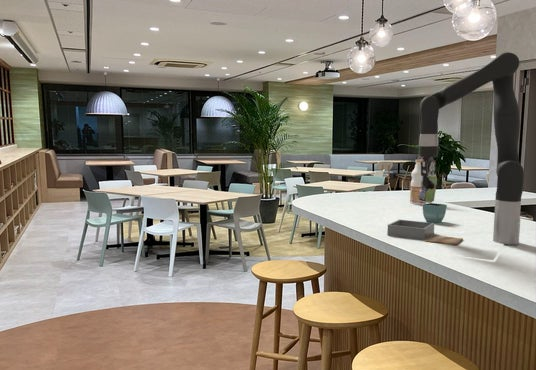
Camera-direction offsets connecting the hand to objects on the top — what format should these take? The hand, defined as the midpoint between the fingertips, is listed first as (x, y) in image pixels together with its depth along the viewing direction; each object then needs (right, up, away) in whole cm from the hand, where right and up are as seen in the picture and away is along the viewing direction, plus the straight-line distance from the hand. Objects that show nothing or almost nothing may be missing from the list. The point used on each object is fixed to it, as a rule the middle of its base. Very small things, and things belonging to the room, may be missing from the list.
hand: (428, 185), depth 199 cm
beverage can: (0, -7, +1) cm, 7 cm away
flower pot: (+15, -18, +36) cm, 43 cm away
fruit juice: (+24, -13, +91) cm, 95 cm away
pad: (+5, -22, -5) cm, 24 cm away
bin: (-5, -21, +8) cm, 23 cm away
